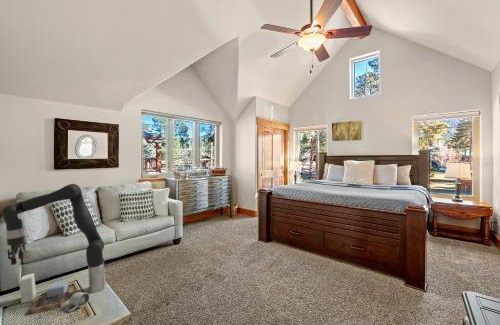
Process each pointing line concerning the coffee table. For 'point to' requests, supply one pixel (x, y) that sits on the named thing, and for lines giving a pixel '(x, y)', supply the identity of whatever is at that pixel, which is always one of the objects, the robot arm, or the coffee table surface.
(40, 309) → the display bay
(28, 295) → the skincare box
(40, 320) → the coffee table surface
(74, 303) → the ceramic mug
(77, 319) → the coffee table surface
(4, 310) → the coffee table surface
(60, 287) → the slate carton
